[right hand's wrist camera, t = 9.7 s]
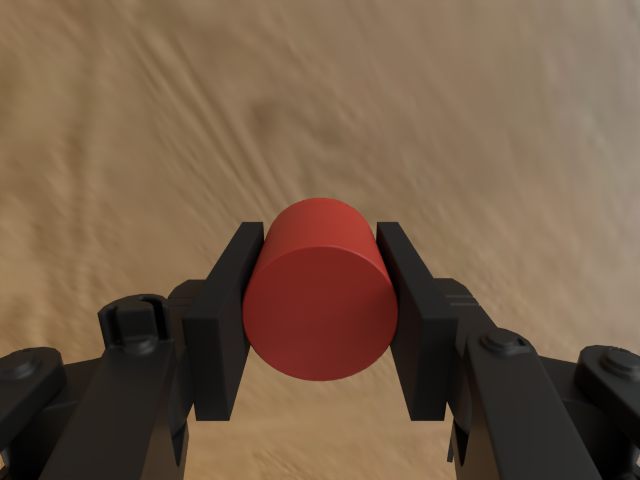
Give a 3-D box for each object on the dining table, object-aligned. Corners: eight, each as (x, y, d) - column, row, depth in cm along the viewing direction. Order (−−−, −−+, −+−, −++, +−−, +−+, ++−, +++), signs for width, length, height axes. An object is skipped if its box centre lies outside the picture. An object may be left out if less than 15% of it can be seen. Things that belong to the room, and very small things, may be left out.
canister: (375, 194, 14) (401, 240, 9) (374, 296, 15) (397, 379, 11) (259, 200, 14) (231, 248, 9) (270, 301, 15) (250, 384, 11)
